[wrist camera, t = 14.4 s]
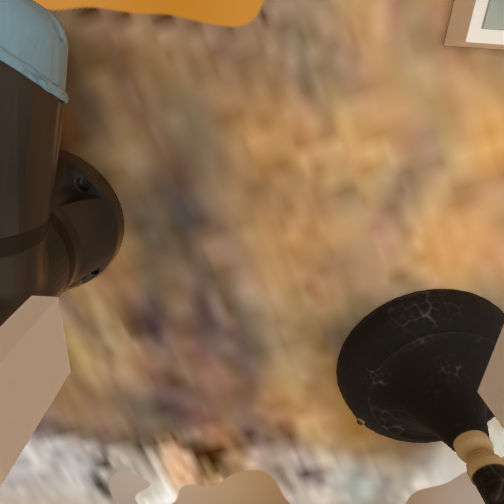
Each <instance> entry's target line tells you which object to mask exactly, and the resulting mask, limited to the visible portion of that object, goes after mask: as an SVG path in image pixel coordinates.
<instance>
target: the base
mask: <svg viewBox="0 0 504 504" xmlns="http://www.w3.org/2000/svg"><path fill="white" fill-rule="evenodd" d="M444 46H458V47H473V48H487V49H501V50H504V0H454V4H453V8H452V12H451V17H450V21H449V25H448V29H447V34H446V38H445V42H444Z"/></svg>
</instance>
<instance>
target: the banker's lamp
mask: <svg viewBox="0 0 504 504" xmlns="http://www.w3.org/2000/svg"><path fill="white" fill-rule="evenodd" d="M503 325H504V313H503V312H502V311H501V309H499V308H498V307H497V306H495V305H494V304H492V303H491V302H490V301H488V300H486V299H484V298H482V297H479V296H477V295H474V294H472V293H467V292H462V291H457V290H430V291H424V292H418V293H413V294H410V295H407V296H404V297H401V298H398V299H396V300H394V301H392V302H390V303H388V304H386V305H384V306H382V307H380V308H378V309H377V310H376V311H374V312H373V313H372V314H370V315H369V316H367V317H366V318H365V319H364V320H363V321H362V322H361V323H360V324H359V325H358V326H357V327H356V328H355V329H354V330H353V331H352V333H351V334H350V336H349V337H348V339H347V340H346V342H345V344H344V345H343V348H342V351H341V353H340V356H339V358H338V366H337V379H338V386H339V389H340V391H341V394H342V396H343V398H344V400H345V402H346V404H347V405H348V407H349V408H350V410H351V411H352V412H353V414H354V415H355V416H356V418H357V423H358V424H359V425H363V424H364V425H365V426H366V427H367V428H369V429H371V430H373V431H375V432H376V433H378V434H380V435H383V436H386V437H389V438H392V439H396V440H400V441H406V442H417V443H428V442H436V441H443V442H444V443H445V444H447V445H448V446H449V447H450V448H451V449H452V450H453V451H455V452H456V453H457V455H458V457H459V458H460V459H462V460H463V461H464V462H465V463H467V464H466V467H467V474H468V476H469V477H470V479H471V481H472V483H473V484H474V485H475V486H476V487H477V489H478V491H479V493H480V495H481V496H482V498H483V500H484V502H485V504H504V460H503V459H502V458H500V457H499V456H498V455H496V454H494V453H493V452H494V450H493V445H492V442H491V440H490V439H489V433H488V427H487V422H488V421H489V420H491V419H492V418H493V417H494V414H493V413H492V411H491V410H490V409H489V407H488V406H487V404H486V403H485V402H484V400H483V399H482V397H481V396H480V395H479V393H478V392H477V391H478V389H479V386H480V384H481V381H482V378H483V376H484V373H485V371H486V368H487V366H488V363H489V361H490V358H491V356H492V353H493V350H494V348H495V345H496V343H497V340H498V338H499V335H500V333H501V330H502V328H503Z"/></svg>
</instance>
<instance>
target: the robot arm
mask: <svg viewBox="0 0 504 504" xmlns="http://www.w3.org/2000/svg"><path fill="white" fill-rule="evenodd" d="M68 50H69V46H68V39H67V36H66V33H65V31H64V28H63V27H62V25H61V24H60V22H59V21H58V20H57V18H56V17H55V16H54V15H53V14H52V13H51V12H50V11H48V10H47V9H46V8H44V7H43V6H41V5H39V4H38V3H36V2H34V1H33V0H0V486H1V484H2V483H3V481H4V480H5V478H6V476H7V475H8V473H9V471H10V470H11V468H12V467H13V465H14V463H15V462H16V460H17V458H18V457H19V455H20V454H21V452H22V450H23V449H24V447H25V445H26V444H27V442H28V441H29V439H30V437H31V436H32V434H33V432H34V431H35V429H36V428H37V426H38V424H39V423H40V421H41V419H42V418H43V416H44V415H45V413H46V411H47V410H48V408H49V406H50V405H51V403H52V402H53V400H54V398H55V397H56V395H57V393H58V392H59V390H60V389H61V387H62V385H63V384H64V382H65V380H66V379H67V377H68V376H69V374H70V372H71V370H70V364H69V358H68V352H67V346H66V340H65V334H64V328H63V322H62V316H61V310H60V304H59V298H58V297H59V296H60V295H61V293H62V292H64V291H67V290H69V289H72V288H74V287H77V286H79V285H82V284H84V283H86V282H88V281H90V280H92V279H94V278H95V277H97V276H98V275H99V274H100V273H102V272H103V271H104V270H105V269H106V268H107V266H108V265H109V264H110V262H111V261H112V260H113V259H114V257H115V256H116V254H117V252H118V251H119V248H120V246H121V243H122V239H123V233H124V220H123V214H122V210H121V207H120V204H119V201H118V199H117V197H116V195H115V193H114V191H113V190H112V188H111V187H110V185H109V184H108V182H107V181H106V180H105V179H104V178H103V177H102V176H101V174H99V173H98V172H97V171H96V170H95V169H94V168H93V167H92V166H90V165H89V164H87V163H86V162H84V161H83V160H81V159H79V158H78V157H76V156H74V155H72V154H69V153H67V152H64V151H61V150H59V146H60V139H61V131H62V123H63V115H64V108H65V103H66V104H68V99H69V98H68V95H67V93H66V92H65V91H66V78H67V64H68ZM477 392H478V393H479V395H480V396H481V397H482V399H483V400H484V402H485V403H486V404H487V406H488V407H489V409H490V410H491V411H492V413H493V414H494V416H495V417H496V418H497V420H498V421H499V423H500V424H501V425H502V427H503V428H504V325H503V328H502V330H501V333H500V335H499V338H498V340H497V343H496V345H495V348H494V350H493V353H492V356H491V358H490V361H489V363H488V366H487V368H486V371H485V373H484V376H483V378H482V381H481V384H480V386H479V389H478V391H477Z"/></svg>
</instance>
